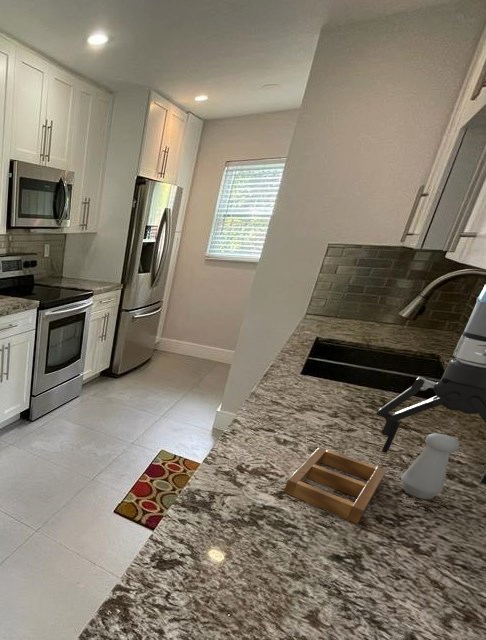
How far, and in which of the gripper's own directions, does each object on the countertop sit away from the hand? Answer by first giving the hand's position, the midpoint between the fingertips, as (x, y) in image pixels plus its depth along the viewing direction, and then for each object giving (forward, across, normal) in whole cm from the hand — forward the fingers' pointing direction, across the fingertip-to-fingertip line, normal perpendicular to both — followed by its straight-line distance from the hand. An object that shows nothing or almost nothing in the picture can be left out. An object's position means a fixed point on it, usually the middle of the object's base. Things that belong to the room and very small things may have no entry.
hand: (431, 465), depth 81 cm
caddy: (+7, -11, -12) cm, 17 cm away
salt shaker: (+7, 0, 0) cm, 7 cm away
